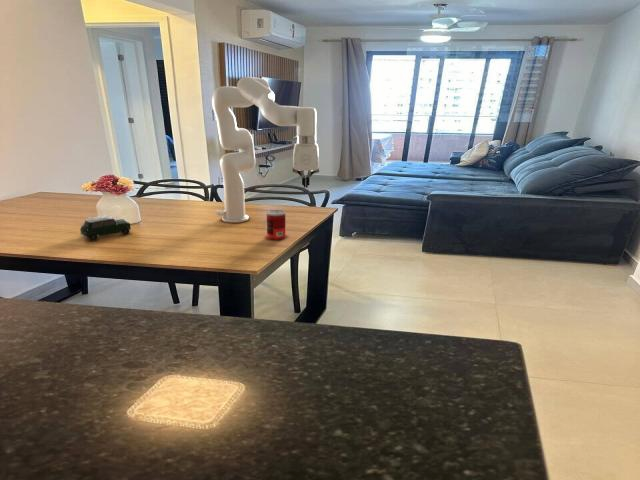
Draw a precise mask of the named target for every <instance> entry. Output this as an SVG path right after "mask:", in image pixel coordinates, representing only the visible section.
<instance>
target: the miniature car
mask: <svg viewBox="0 0 640 480" xmlns="http://www.w3.org/2000/svg"><path fill="white" fill-rule="evenodd" d="M131 230H132V226H131V223H130V222H128V221H126V220H125V219H120V218H119V219H115V218H114V217H113V216H111V215H107V214H106V215H97V216H92V217H88V218H85V220H84V222H83V224H82V225H81V226H80V229H79V231H80V232H79V234H80V236H81V237H83V238H84V239H85V238H87V239H89V240H90V241H92V242H95V241H96V240H98V237H103V236H109V235H115V234H119V233H121V234H122V235H124V236H125V235H129V234H130V232H131Z"/></svg>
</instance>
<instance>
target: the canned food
mask: <svg viewBox="0 0 640 480" xmlns="http://www.w3.org/2000/svg"><path fill="white" fill-rule="evenodd" d="M286 214H287V213H286V211H285V210H283V209H270V210H268V211H266V236H267V239H268V240H273V241H280V240H284V239H285V238H286V234H287V233H286V231H287V229H286V228H287V227H286V226H287V225H286V224H287V223H286V222H287V221H286V220H287V217H286Z"/></svg>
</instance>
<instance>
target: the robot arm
mask: <svg viewBox="0 0 640 480" xmlns="http://www.w3.org/2000/svg"><path fill="white" fill-rule="evenodd" d="M275 97H276V96H275V93H274V91H273V90H272V89H271V88H270V84H269V83H268V81H267V80H266V79H264V78H262V77H254V76H243V77H241V78H240V79H239V80H238V81H237V84H236V86H231V85H224V86H219V87H217V88H215V90H214V91H213V93H212V96H211V105H212V110H213V113H214V116H215V119H216V126H217V127H216V128H217V133H218V137H219V144H220V147H221V148H222V149H223V150H226V151H235V150H238V152H228V153H225V154H224V155H222V156H221V158H220V159H219V167H220V171H221V175H222V185H223V201H224V202H223V203H224V209H223V210H215V215H217V216H219V217H220V216H222V217H221V220H222V221H223V222H225V223H230V224H234V223H235V224H236V223H244V222H247V221H248V220H249V215H248V214H246V204H245V203H246V201H245V200H246V198H245V182H244V180H243V178H242V176H241V174H242V173H243V174H244V173H249V172H251V171H253V170H254V169H255V167H256V161H257V160H256V154H255V146H254V139H253V136H252V134H251V132H250V131H249V130H248V129H246V128H243V127H238V126H237V119H236V116H235V114H234V112H233V111H232V110H231V108H249V107H251V106H253V105H254V106H255V107H257V108H259V111H260V113H261V115H262V117H263V118H265V119H266V120H267V121H269V122H270V123H272V124H274V125H275V126H277V127H296V136H293V137H292V141H293V142H296V143H294V145H293V151H292V152H293V154H292V171H291V172H292V173H295V174H298V175H299V176H300V177H301V186H303V188H304V189H305V188H306V189H308V187H309V186H310V178H311V177H312V176H313V175H315V174H318V173H320V169H319V167H320V155H319V144H318V143H317V109H316V108H315V107H312V106H295V105H280V104H279V103H277V102H275V99H276V98H275ZM305 171H307V174H306V175H305Z"/></svg>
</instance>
